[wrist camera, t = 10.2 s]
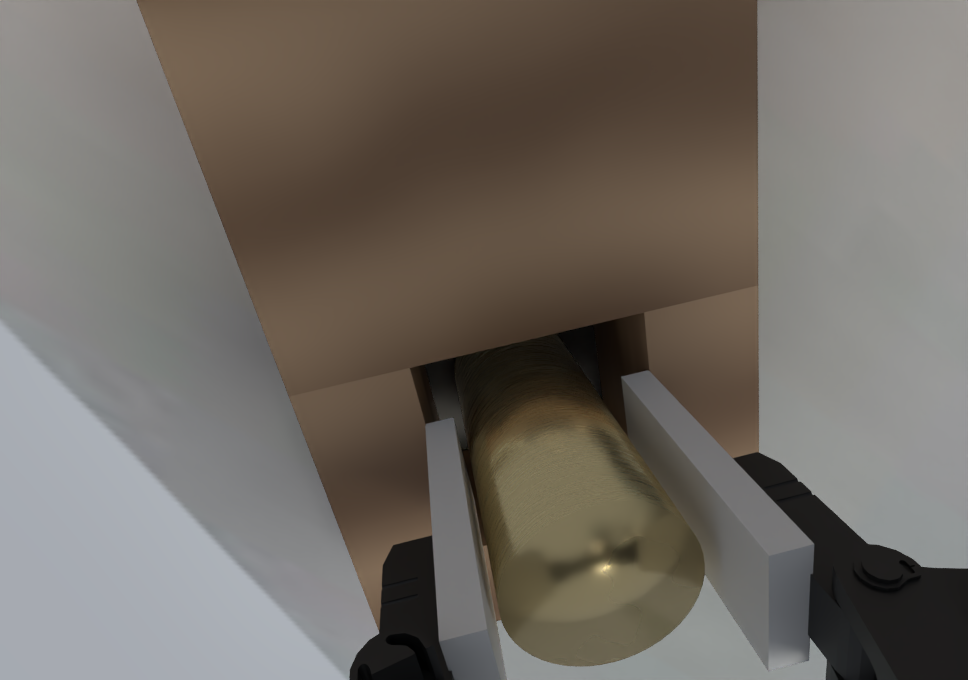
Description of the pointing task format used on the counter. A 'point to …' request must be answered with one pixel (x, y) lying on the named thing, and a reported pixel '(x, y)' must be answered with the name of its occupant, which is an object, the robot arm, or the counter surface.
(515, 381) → the brass cylinder
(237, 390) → the counter surface
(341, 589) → the counter surface
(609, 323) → the jig
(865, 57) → the counter surface
